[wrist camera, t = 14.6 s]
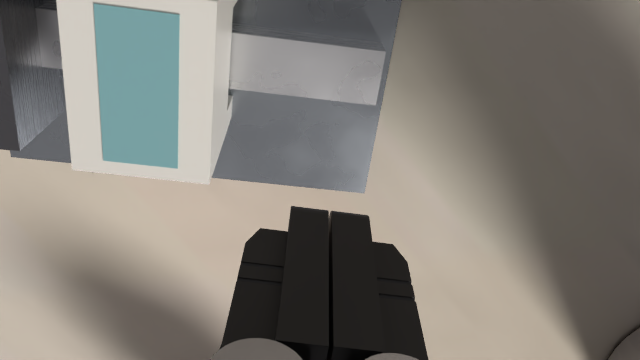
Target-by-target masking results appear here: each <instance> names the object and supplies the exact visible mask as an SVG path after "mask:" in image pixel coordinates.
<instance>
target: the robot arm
mask: <svg viewBox="0 0 640 360" xmlns="http://www.w3.org/2000/svg"><path fill="white" fill-rule="evenodd" d="M414 300H415V296H414V291H413V286H412V285H411V277H410V272H409V268H408V263H407V261H406V260H405V259H404V257H403V256H402V255H401V254H400V252H399V251H398V250H397V249H396V247H395V246H394V245H393V244H386V243H378V242H372V236H371V228H370V220H369V216H368V215H360V214H352V213H344V212H336V211H331V212H330V216H329V212H328V211H327V210H319V209H311V208H303V207H295V206H291V212H290V219H289V227H288V232H287V231H279V230H270V229H262V228H260V229H259V230H258V231H257V232H256V233H255V234H254V235H253V236H252V237H251V238H250V239H249V240H248V241H247V242H246V243H245V248H244V252H243V256H242V260H241V265H240V269H239V273H238V278H237V282H236V286H235V290H234V294H233V299H232V303H231V307H230V311H229V316H228V320H227V324H226V328H225V333H224V337H223V341H222V344H221V347H220V349H219V350H218V351H217V352H216V353H215V354H214V355H213V356H212V358H211V359H210V360H428V356H427V351H426V347H425V342H424V338H423V333H422V328H421V324H420V319H419V314H418V310H417V305H416V302H415V301H414ZM608 360H640V328H639V329H637V330H636V331H634V332H633V333H632V334H630V335H629V336H628V337H626V338H625V339H624V340H623V341H622V342H621V343H620V344H619V345H618V346H617V347H616V348H615V350H614V351H613V353H612V354H611V356H610V357H609V359H608Z"/></svg>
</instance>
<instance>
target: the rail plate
mask: <svg viewBox="0 0 640 360" xmlns="http://www.w3.org/2000/svg"><path fill="white" fill-rule="evenodd" d="M401 1H402V0H238V1H237V2H236V4H235V6H234V7H233V17H232V35H231V53H230V71H229V88H228V95H231V96H233V100H232V116H231V120H230V123H229V126H228V129H227V132H226V136H225V139H224V142H223V145H222V148H221V151H220V154H219V157H218V160H217V163H216V166H215V169H214V172H213V175H212V178H221V179H231V180H240V181H250V182H260V183H269V184H279V185H289V186H298V187H308V188H318V189H328V190H337V191H347V192H357V193H364V192H365V187H366V182H367V177H368V172H369V167H370V161H371V156H372V151H373V146H374V141H375V136H376V130H377V125H378V120H379V115H380V110H381V105H382V99H383V94H384V89H385V84H386V79H387V74H388V68H389V63H390V58H391V53H392V48H393V43H394V37H395V32H396V27H397V22H398V17H399V12H400V6H401ZM0 149H4V150H10V153H11V157H17V158H27V159H37V160H46V161H56V162H66V163H71V154H70V143H69V132H68V121H67V111H66V100H65V89H64V78H63V68H62V57H61V46H60V35H59V24H58V14H57V3H56V0H0Z"/></svg>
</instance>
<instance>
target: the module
mask: <svg viewBox="0 0 640 360" xmlns="http://www.w3.org/2000/svg"><path fill="white" fill-rule="evenodd" d="M237 1H238V0H56V3H57V14H58V24H59V35H60V46H61V57H62V68H63V78H64V89H65V100H66V111H67V121H68V132H69V143H70V154H71V164H72V170H77V171H86V172H96V173H105V174H115V175H124V176H133V177H143V178H152V179H162V180H171V181H181V182H190V183H199V184H210V181H211V178H212V175H213V172H214V169H215V166H216V163H217V160H218V157H219V154H220V151H221V148H222V145H223V142H224V139H225V136H226V132H227V129H228V126H229V123H230V120H231V116H232V100H233V96H231V95H228V88H229V71H230V53H231V35H232V17H233V7H234V6H235V4H236V2H237Z"/></svg>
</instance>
